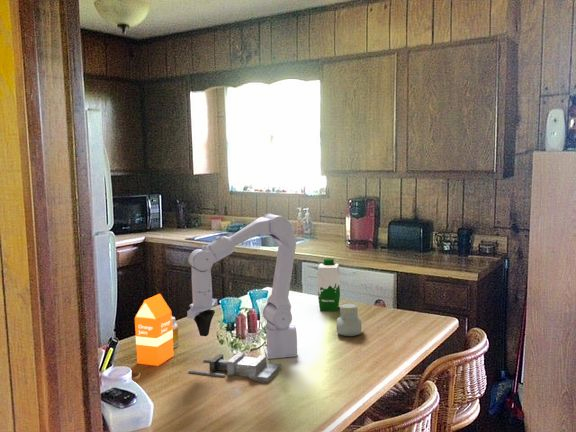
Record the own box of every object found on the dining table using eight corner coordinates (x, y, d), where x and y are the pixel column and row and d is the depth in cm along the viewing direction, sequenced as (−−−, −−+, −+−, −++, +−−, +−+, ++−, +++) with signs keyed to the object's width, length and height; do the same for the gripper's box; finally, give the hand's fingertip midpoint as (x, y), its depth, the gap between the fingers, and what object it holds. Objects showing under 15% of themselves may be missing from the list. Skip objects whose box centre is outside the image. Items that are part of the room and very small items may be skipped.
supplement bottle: (180, 343, 182) (178, 315, 181) (177, 348, 176) (175, 320, 175) (164, 343, 182) (162, 315, 181) (160, 349, 176) (159, 320, 175)
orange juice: (136, 363, 165) (133, 299, 163) (153, 353, 173) (149, 292, 171) (158, 365, 162) (155, 301, 160) (174, 355, 170) (171, 294, 168)
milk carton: (340, 305, 222) (340, 258, 219) (339, 312, 213) (338, 262, 211) (319, 305, 223) (318, 258, 221) (317, 311, 214) (316, 262, 212)
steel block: (259, 369, 157) (259, 358, 157) (251, 377, 152) (251, 365, 152) (244, 367, 159) (243, 356, 159) (235, 375, 154) (235, 363, 153)
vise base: (280, 369, 157) (280, 356, 156) (267, 382, 147) (267, 368, 147) (205, 360, 165) (204, 347, 165) (188, 372, 156) (187, 359, 156)
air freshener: (338, 328, 192) (337, 301, 191) (361, 329, 191) (361, 301, 190) (336, 338, 182) (335, 310, 181) (360, 339, 180) (360, 310, 179)
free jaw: (244, 366, 159) (243, 353, 159) (233, 375, 153) (233, 362, 152) (220, 363, 162) (219, 351, 161) (208, 372, 155) (208, 359, 155)
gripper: (202, 284, 165) (204, 326, 167) (177, 295, 152) (179, 342, 153) (222, 285, 163) (224, 328, 164) (198, 297, 149) (201, 344, 151)
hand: (204, 335), depth 159 cm, fingers closed
